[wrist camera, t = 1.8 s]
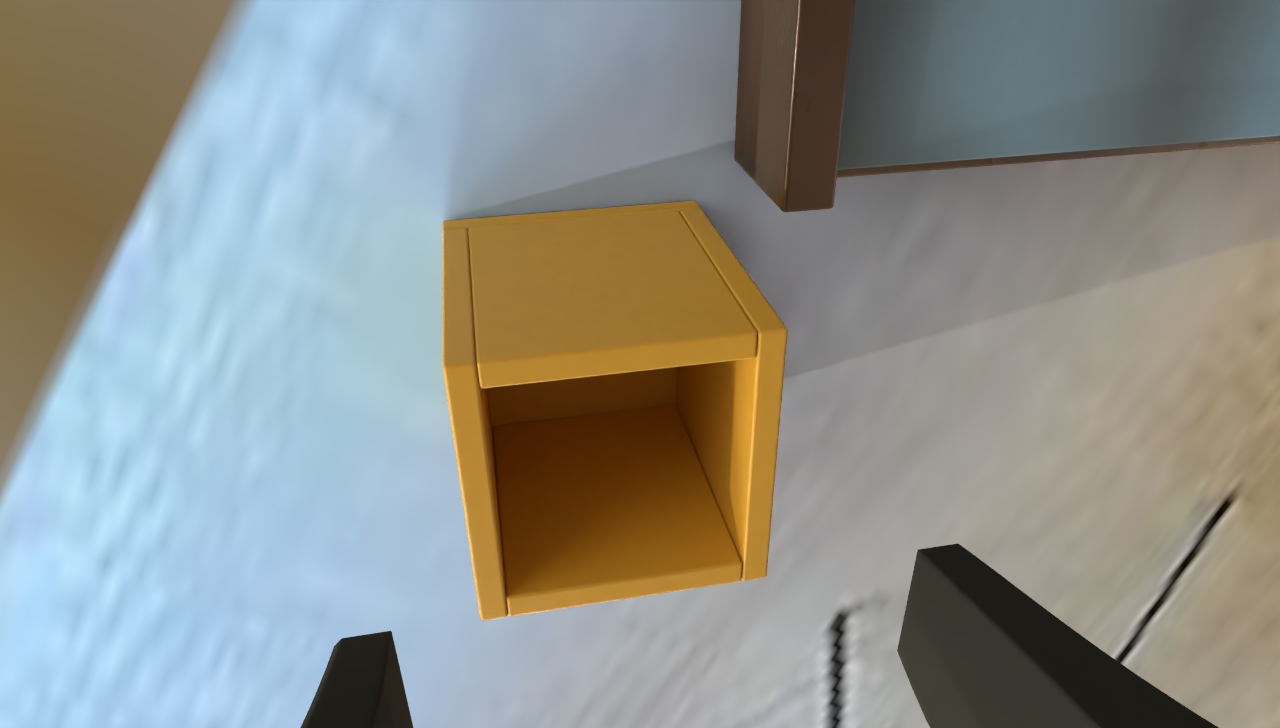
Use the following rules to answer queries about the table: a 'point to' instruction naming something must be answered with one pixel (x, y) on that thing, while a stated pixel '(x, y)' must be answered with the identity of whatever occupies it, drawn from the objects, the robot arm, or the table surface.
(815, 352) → the table surface
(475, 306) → the small bin
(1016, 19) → the toy bed
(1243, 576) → the table surface
